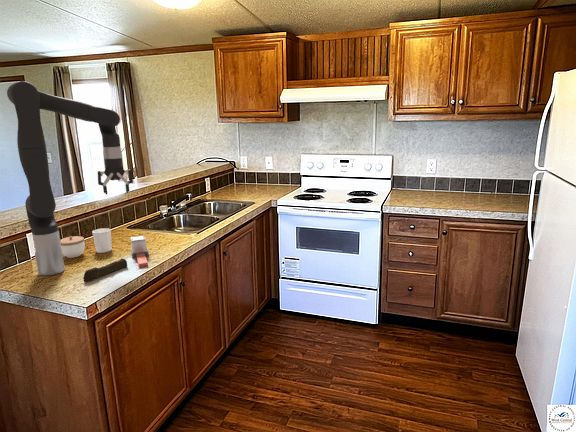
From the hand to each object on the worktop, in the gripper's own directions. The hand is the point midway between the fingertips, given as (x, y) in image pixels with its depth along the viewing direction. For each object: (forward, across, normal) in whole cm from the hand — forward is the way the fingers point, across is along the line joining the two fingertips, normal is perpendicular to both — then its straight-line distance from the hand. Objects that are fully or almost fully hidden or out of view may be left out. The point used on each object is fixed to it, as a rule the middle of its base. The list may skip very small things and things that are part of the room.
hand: (117, 193), depth 179 cm
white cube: (+27, +7, -4) cm, 28 cm away
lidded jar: (+29, -21, +8) cm, 37 cm away
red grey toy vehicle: (+29, +7, -11) cm, 32 cm away
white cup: (+29, -8, +10) cm, 32 cm away
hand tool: (+29, -7, -23) cm, 38 cm away
